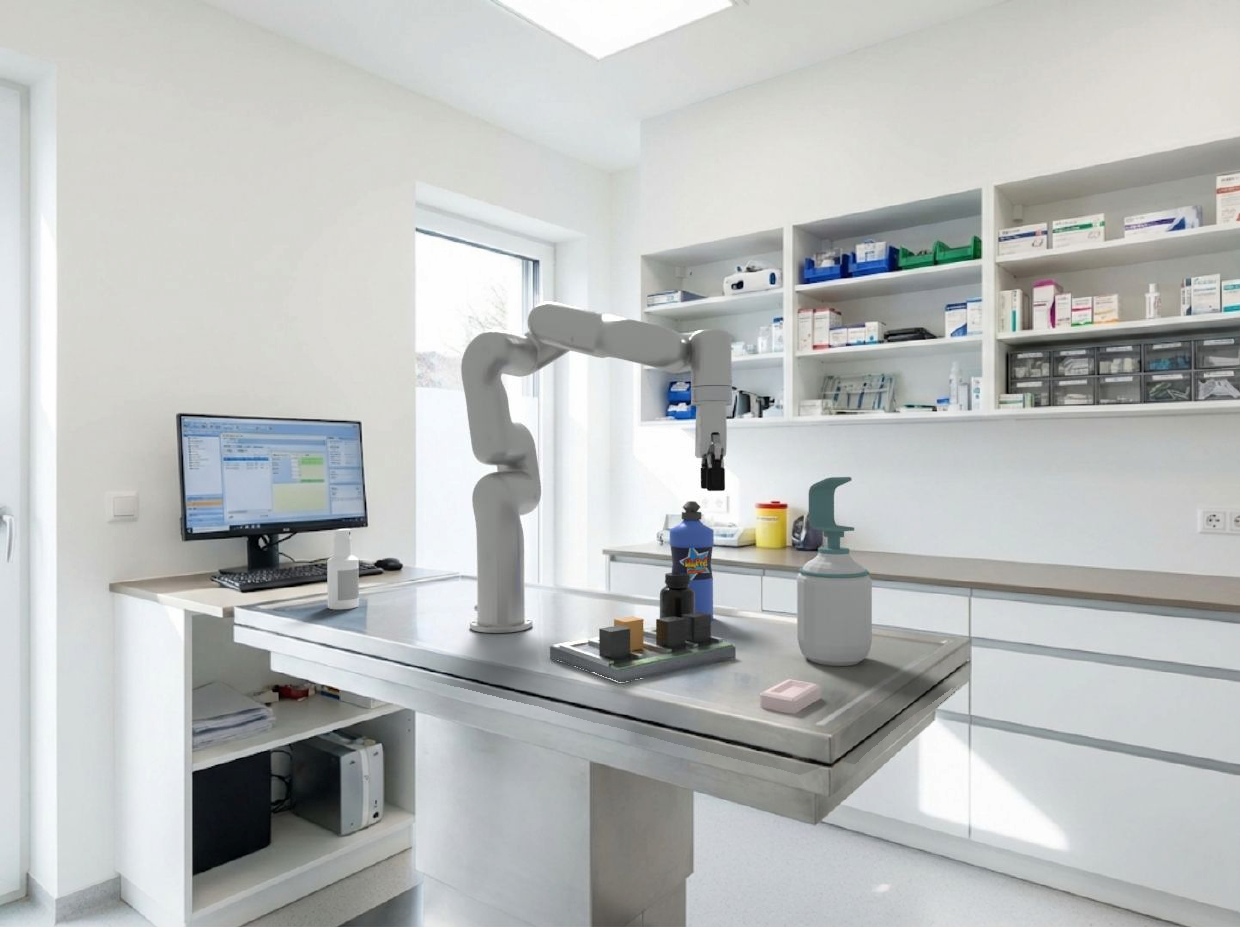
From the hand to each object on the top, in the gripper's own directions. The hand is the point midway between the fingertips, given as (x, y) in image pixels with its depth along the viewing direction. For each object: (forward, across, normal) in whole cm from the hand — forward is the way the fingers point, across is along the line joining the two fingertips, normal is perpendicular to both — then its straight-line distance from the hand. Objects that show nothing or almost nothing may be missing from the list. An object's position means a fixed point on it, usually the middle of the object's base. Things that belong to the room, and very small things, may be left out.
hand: (712, 489), depth 149 cm
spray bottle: (+28, -37, -81) cm, 94 cm away
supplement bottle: (+29, -6, -6) cm, 30 cm away
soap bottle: (+29, +12, +19) cm, 37 cm away
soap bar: (+29, +36, +6) cm, 47 cm away
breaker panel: (+28, +11, -14) cm, 33 cm away
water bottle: (+29, -22, -2) cm, 36 cm away
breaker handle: (+26, +12, -16) cm, 33 cm away
